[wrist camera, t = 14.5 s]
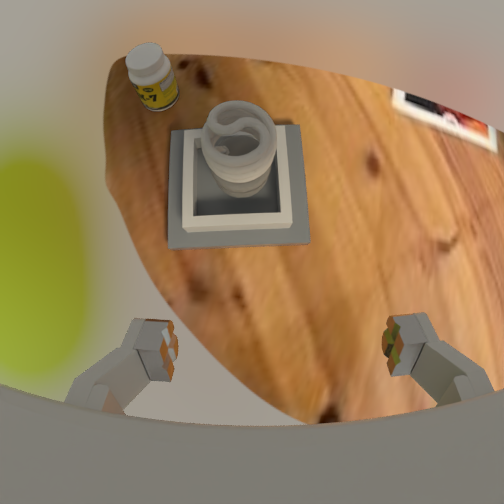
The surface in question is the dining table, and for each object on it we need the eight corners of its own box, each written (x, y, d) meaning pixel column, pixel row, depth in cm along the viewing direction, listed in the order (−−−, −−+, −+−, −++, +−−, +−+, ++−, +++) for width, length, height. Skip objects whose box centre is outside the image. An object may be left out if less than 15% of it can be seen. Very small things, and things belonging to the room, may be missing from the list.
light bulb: (205, 197, 32) (181, 146, 20) (226, 149, 33) (215, 81, 21) (258, 216, 32) (263, 172, 20) (277, 166, 32) (290, 103, 20)
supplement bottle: (135, 105, 35) (112, 65, 27) (158, 77, 36) (140, 35, 27) (165, 118, 35) (145, 77, 26) (187, 89, 35) (174, 45, 27)
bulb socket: (297, 131, 35) (302, 113, 31) (307, 244, 33) (315, 238, 29) (174, 136, 34) (166, 119, 30) (171, 250, 33) (161, 244, 29)
